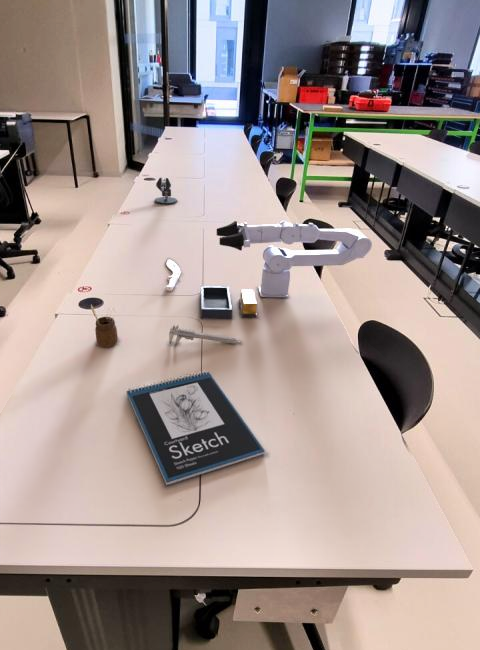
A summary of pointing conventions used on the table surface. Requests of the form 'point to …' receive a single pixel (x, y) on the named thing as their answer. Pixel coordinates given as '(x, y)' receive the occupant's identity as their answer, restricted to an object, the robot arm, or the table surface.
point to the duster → (248, 304)
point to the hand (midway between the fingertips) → (218, 236)
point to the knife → (174, 277)
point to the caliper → (197, 336)
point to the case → (215, 302)
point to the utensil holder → (105, 330)
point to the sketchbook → (192, 427)
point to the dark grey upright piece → (165, 192)
